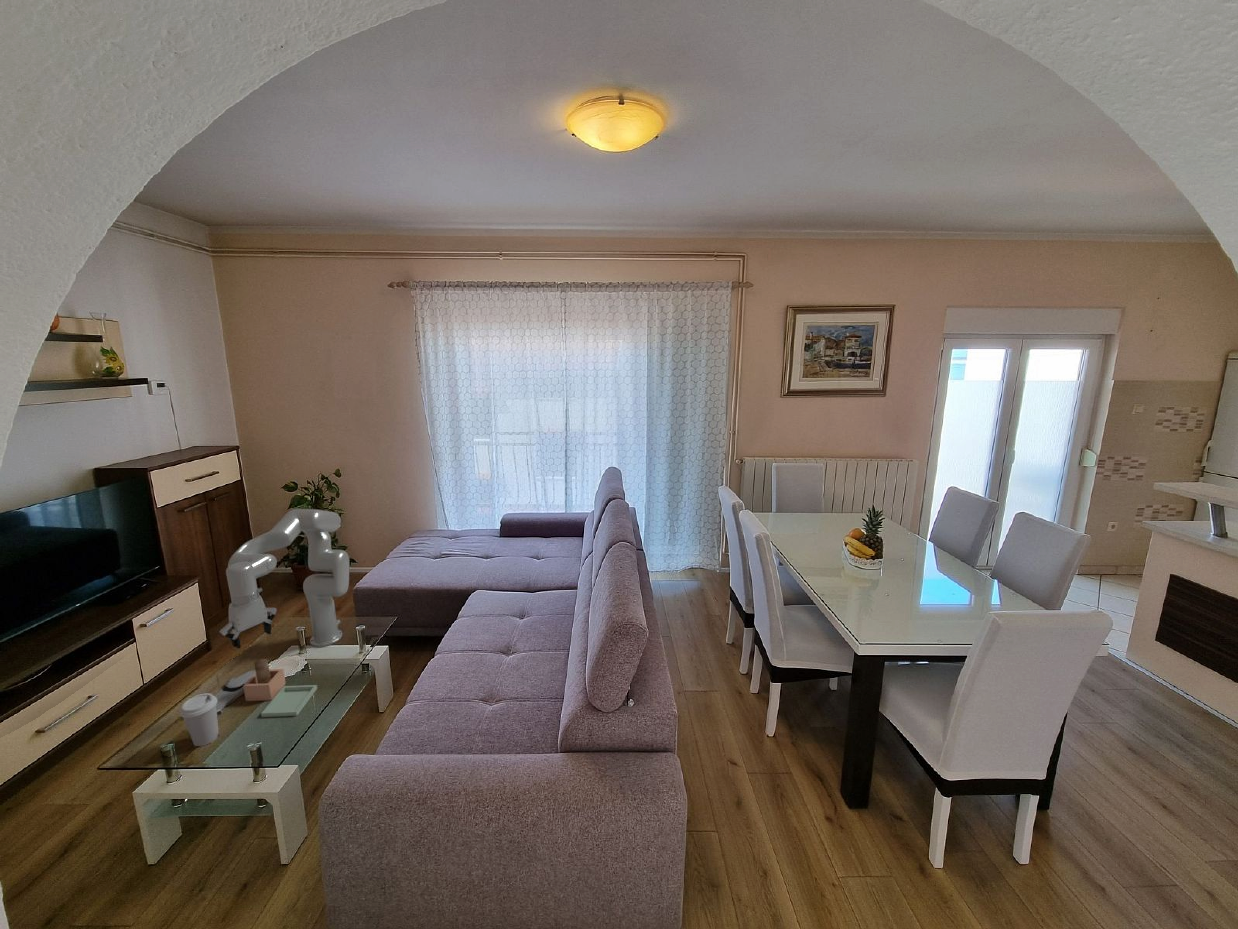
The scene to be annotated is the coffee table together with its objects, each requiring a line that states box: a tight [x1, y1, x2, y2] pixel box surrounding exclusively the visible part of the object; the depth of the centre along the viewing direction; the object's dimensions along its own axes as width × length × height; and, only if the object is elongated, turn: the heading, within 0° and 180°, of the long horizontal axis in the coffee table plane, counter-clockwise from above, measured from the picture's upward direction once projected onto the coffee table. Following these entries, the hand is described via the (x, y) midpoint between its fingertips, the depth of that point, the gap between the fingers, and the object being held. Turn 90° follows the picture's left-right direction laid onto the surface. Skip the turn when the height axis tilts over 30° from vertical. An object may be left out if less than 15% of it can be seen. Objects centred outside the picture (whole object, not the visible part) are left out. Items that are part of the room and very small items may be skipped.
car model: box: [214, 669, 256, 715], centre depth 181 cm, size 11×24×5 cm, turn 173°
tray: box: [260, 684, 318, 718], centre depth 179 cm, size 14×12×2 cm
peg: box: [253, 658, 271, 684], centre depth 182 cm, size 4×4×13 cm
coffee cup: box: [179, 692, 220, 747], centre depth 161 cm, size 10×10×15 cm
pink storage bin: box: [243, 668, 287, 702], centre depth 183 cm, size 9×9×8 cm
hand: (253, 640), depth 172 cm, fingers open, 9 cm apart
